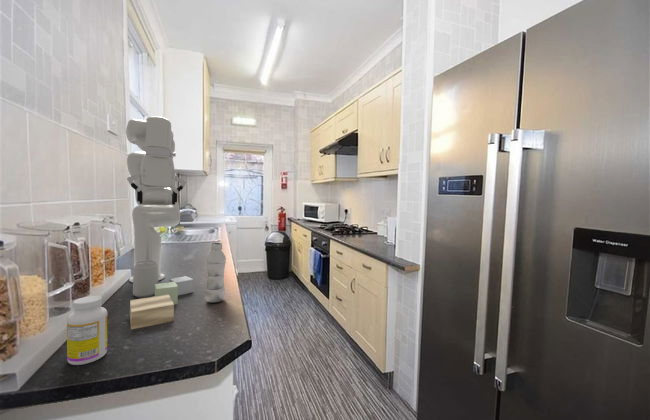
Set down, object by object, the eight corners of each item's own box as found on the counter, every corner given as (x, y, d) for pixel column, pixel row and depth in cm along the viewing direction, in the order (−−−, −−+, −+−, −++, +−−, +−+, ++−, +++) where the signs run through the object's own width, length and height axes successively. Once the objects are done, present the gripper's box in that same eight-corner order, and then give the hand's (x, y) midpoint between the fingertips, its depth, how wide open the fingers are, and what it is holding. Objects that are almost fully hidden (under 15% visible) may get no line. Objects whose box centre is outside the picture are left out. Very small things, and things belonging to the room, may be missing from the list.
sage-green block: (154, 301, 93) (154, 284, 93) (174, 298, 97) (174, 281, 97) (156, 307, 89) (156, 289, 88) (177, 304, 92) (177, 286, 92)
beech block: (129, 317, 82) (130, 300, 81) (168, 310, 88) (168, 294, 87) (131, 330, 74) (131, 311, 73) (173, 321, 80) (173, 304, 79)
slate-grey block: (169, 292, 103) (169, 279, 103) (185, 288, 108) (185, 276, 108) (176, 296, 99) (176, 282, 99) (192, 292, 104) (193, 279, 104)
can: (137, 299, 94) (138, 264, 94) (129, 294, 99) (129, 261, 98) (161, 294, 100) (161, 261, 100) (152, 289, 105) (153, 258, 104)
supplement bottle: (88, 348, 64) (89, 293, 64) (114, 350, 63) (115, 295, 63) (57, 365, 57) (58, 303, 57) (86, 368, 57) (87, 306, 56)
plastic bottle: (225, 297, 100) (226, 242, 99) (224, 304, 93) (226, 245, 93) (206, 298, 98) (207, 242, 97) (203, 305, 91) (205, 245, 91)
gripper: (184, 158, 103) (183, 204, 103) (127, 152, 93) (126, 203, 93) (188, 155, 97) (187, 204, 97) (127, 149, 87) (126, 203, 87)
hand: (157, 204), depth 95 cm, fingers open, 9 cm apart
